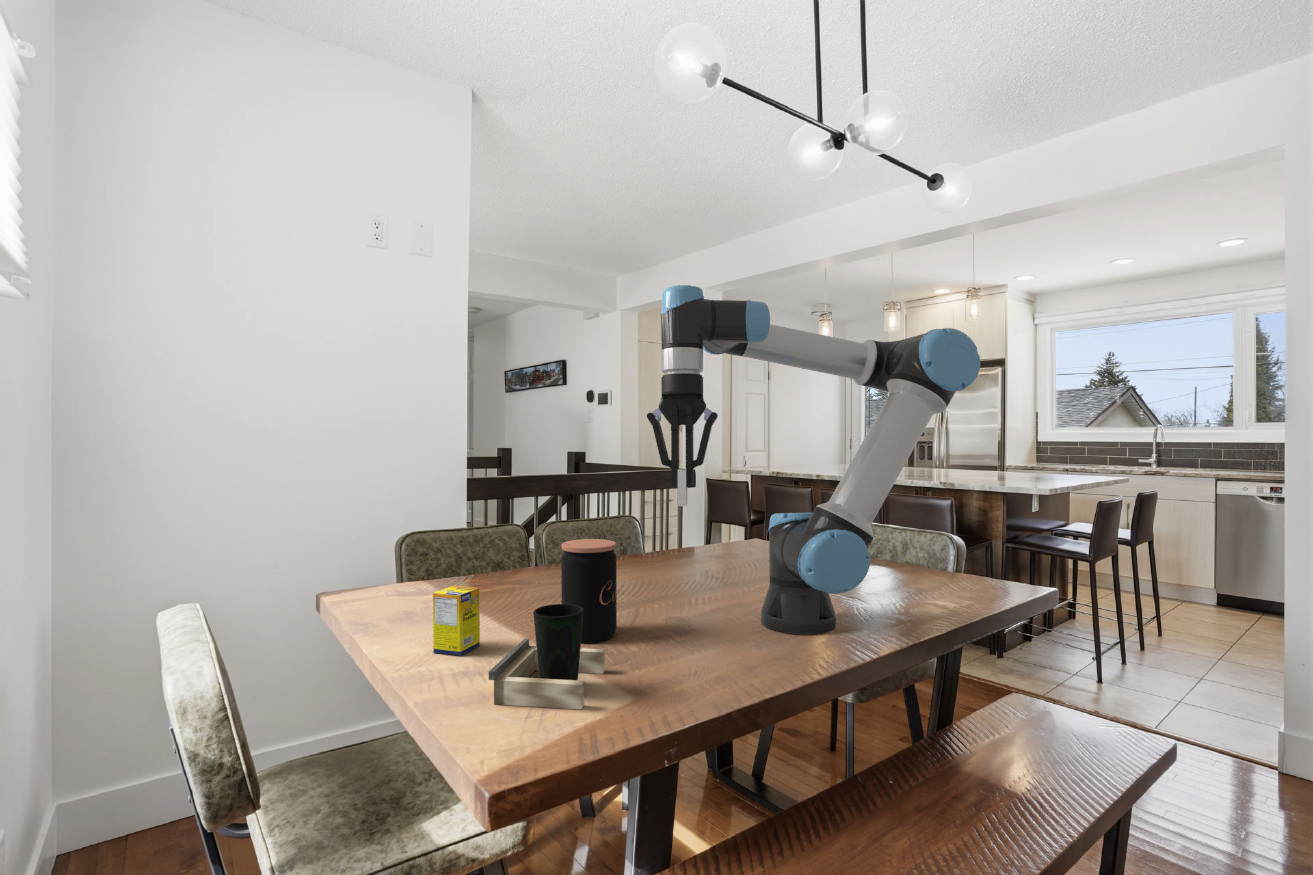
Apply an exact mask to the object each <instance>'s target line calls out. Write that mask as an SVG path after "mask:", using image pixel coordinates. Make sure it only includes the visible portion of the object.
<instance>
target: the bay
mask: <svg viewBox="0 0 1313 875" xmlns="http://www.w3.org/2000/svg"><path fill="white" fill-rule="evenodd" d="M605 652H606V651H605V648H583V647H581V648H580V660H579V672H578V674H579V673H580V674H581V673H582V674H596V675H597V674H598V675H599V674H600V675H602V674H604V673H605V670H606V668H605V663H606V662H605V660H606V658H605V655H606V654H605ZM536 671H538V672H539V666H538V656H537V645H530V638H524V639H522V640H521V642H519V643H518V644H517V645H516V646H515V647H513V649H511V651H509V653H507V654H506V655H505V656H503V658H502V659H501V660H500V661H499V662H498V663H496V664H495V665H494V666H493V667H492V668H491V669H490V670H489V671H488V681H493V705H497V706H499V705H500V706H512V707H513V706H514V707H515V706H516V707H533V708H548V709H549V708H551V709H567V710H583V708H584V706H585V680H579V679H578V680H559V679H540V677H539V678H538V677H535V678H534V677H530V676H531V675H532V674H533V673H534V672H536Z"/></svg>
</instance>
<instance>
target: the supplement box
mask: <svg viewBox="0 0 1313 875" xmlns="http://www.w3.org/2000/svg"><path fill="white" fill-rule="evenodd" d="M480 612H481V611H480V587H473V586H459V585H451V586H449V587H445V588H442V589H440V590H436V591H434V592H433V593H432V618H433V619H432V624H433V625H432V629H433V630H432V631H433V632H432V633H433V634H432V636H433V638H432V639H433V640H432V641H433V642H432V643H433V645H432V646H433V648H432V649H433V651H432V652H433V654H435V653H436V654H444V655H451V656H459V657H461V656H463V655H465V654H466V653H468V652H472V651H473V650H475V649H477V648H479V647H480V645H481V641H480V640H481V639H480V638H481V637H480V636H481V634H480V632H481V631H480V630H481V628H480V624H481V623H480V621H481V620H480Z"/></svg>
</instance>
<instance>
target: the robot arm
mask: <svg viewBox="0 0 1313 875" xmlns="http://www.w3.org/2000/svg"><path fill="white" fill-rule="evenodd" d="M660 311H661V313H660V322H661V323H660V326H661V327H660V328H661V329H660V334H661V335H660V336H661V351H660V353H661V355H660V356H661V359H660V361H661V364H660V365H661V366H660V367H661V368H660V369H661V372H662V373H663V375H662V376H661V377H660V379H661V382H660V383H661V386H660V388H661V398H660V401H659V404H658V408H656V409H654V410H653V411H651V412H648V413H647V414H646V419H647V420H648V422H650V424H651V426H652V430H653V434H654V438H655V442H656V446H657V451H658V454H659V459H660V461H661V462H660V463H661V464H662V465H663V466H665V467H668V468H670V471H671V486H672V487H673V488H677V507H688V488H693V486H694V469H695V468H697V467H701V465H703V464H704V461H705V458H706V453H707V449H708V445H709V441H710V436H711V432H712V428H713V425H714V423H715V422H716V421H717V419H718V418H719V417H718V416H719V415H718V413H716V412H714V411H712V410H711V409H709V408H708V407H707V403H706V402H705V400H704V376H703V375H702V374H701V373H703V371H704V352H706V353H708V354H711V355H723V354H726V355H732V356H738V357H744V358H749V359H752V360H753V359H754V360H758V361H764V362H769V363H774V364H778V365H784V366H788V367H794V368H799V369H802V370H807V371H812V372H817V373H821V374H828V375H831V376H832V375H833V376H838V377H842V378H846V379H852V380H853V381H854V383H855V384H856V385H858V386H862V387H867V388H872V389H875V390H879V391H883V392H888V394H889V395H888V397H887V398H886V400H885V401H884V404H883V405H882V407H881V409H879V412H878V414H877V415H876V417H875V419H874V421H873V423H872V424H871V426H870V428H869V430H868V431H867V433H866V435H865V436H864V438H863V441H862V443H861V444H860V446H859V447H858V449H857V451H856V452H855V455H854V456H853V458H852V460H851V461H850V464H849V466H848V467H847V468H846V470H845V473H844V474H843V476H842V477H841V479H840V482H838V484H837V486H836V488H835V490H834V491H833V494H832V495H831V497H830V498H829V501H827V502H824V503H820V504H817V505H816V506H815V508H814V510H813V511H812V512H780V513H773V514H771V516H770V518H769V526H768V540H769V541H768V542H769V543H768V544H769V546H768V548H769V551H768V552H769V553H768V554H769V559H768V560H769V562H768V563H769V584H768V585H769V586H768V590H767V592H766V595H765V597H764V601H763V604H762V607H761V611H760V623H761V625H763V626H764V627H766V628H768V629H770V630H773V631H775V632H781V633H785V634H792V635H820V634H826V633H830V632H832V631H834V630H835V629H836V628H837V615H836V611H835V608H834V605H833V602H832V599H831V596H830V594H831V595H837V594H844V593H848V592H850V591H852V590H854V589H855V588H857V587H858V586H859V585H860V584H861V583H862V582H863V581H864V579H865V578H866V576H867V574H868V572H869V570H870V564H871V558H870V555H869V554H870V551H869V548H870V546H871V544H872V542H873V540H874V538H875V534H874V531H873V529H872V525H873V522H874V520H875V519H876V516H877V515H878V513H879V511H880V510H881V508H882V506H883V504H884V503H885V501H886V499H887V498H888V496H889V494H890V492H891V490H892V488H893V487H894V484H895V483H896V481H897V479H898V477H899V476H900V473H901V472H902V470H903V469H904V467H905V465H906V464H907V462H908V460H909V458H910V456H911V455H912V453H913V451H914V449H915V447H916V446H917V444H918V442H919V440H920V438H921V436H922V434H923V433H924V431H925V430H926V428H927V426H928V424H929V422H930V420H931V418H932V417H933V416H934V415H935V414H940V413H944V412H945V411H946V409H947V408H948V407H949V405H950V403H951V401H952V399H953V398H954V396H955V394H956V392H959V391H964V390H965V389H967V388H968V387H970V386H971V385H972V384H973V383H974V382H975V381H976V379H977V378H978V375H979V373H980V370H981V356H980V354H979V351H978V347H977V345H976V343H975V342H974V340H973V339H972V338H971V337H970V336H969V335H967V334H966V333H965V332H964V331H961V330H959V329H956V328H951V327H944V328H935V329H931V330H928V331H927V332H925V333H921V334H918V335H915V336H911V337H910V336H909V337H907V338H904V339H900V340H892V341H878V340H874V339H873V340H872V339H866V340H864V341H863V342H858V341H854V340H848V339H844V338H839V337H834V336H829V335H825V334H820V333H815V332H811V331H805V330H800V329H796V328H790V327H786V326H780V325H776V324H771V316H770V315H771V314H770V309H769V306H768V305H767V303H766V302H763V301H758V300H757V301H756V300H751V299H747V300H734V299H733V300H729V299H726V300H724V299H723V300H720V299H708V298H707V299H706V298H705V296H704V292H703V288H700V286H695V285H690V284H689V285H688V284H683V285H682V284H681V285H680V284H679V285H673V286H670V287H668V288H666V289H665V290H664V291H663V292H662V294H661V310H660ZM703 414H704V416H703V421H705V423H704V426H703V431H702V435H701V438H700V444H699V447H698V451H697V455H696V459H695V458H694V451H695V450H694V425H696V423H697V422H698V420H699V419H700V418H701V416H702V415H703ZM661 415H663V417H664V418H665V419H666V421H667V422H668V424H670V432H671V433H670V436H671V437H670V440H671V442H670V445H671V449H670V450H671V455H670V456H671V457H670V458H669V454H668V450H667V445H666V441H665V438H664V437H665V436H664V433H663V430H662V429H663V428H662V425H661V421H662V417H661ZM681 426H685V428H684V429H685V430H684V431H685V468H680V427H681Z"/></svg>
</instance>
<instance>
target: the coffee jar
mask: <svg viewBox="0 0 1313 875" xmlns="http://www.w3.org/2000/svg"><path fill="white" fill-rule="evenodd" d="M616 548H617V542H616V541H613V540H609V539H604V538H603V539H599V538H583V539H581V538H580V539H573V540H568V541H565V542H562V543H561V549H562V551H563V554H562V555H561V560H560V561H561V570H560V571H561V575H560V576H561V580H560V583H561V590H560V591H561V592H560V593H561V604H572V605H577V606H580V607H582V608H583V609H584V613H583V625H582V637H581V644H599V643H602V642H606V641H609V640H610V639H612V638H613V637H614V635H615V633H616V631H617V627H618V626H617V623H618V620H617V613H618V612H617V610H618V608H617V607H618V605H617V604H618V603H617V601H618V600H617V594H618V593H617V590H618V589H617V554H616V553H615V549H616Z"/></svg>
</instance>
